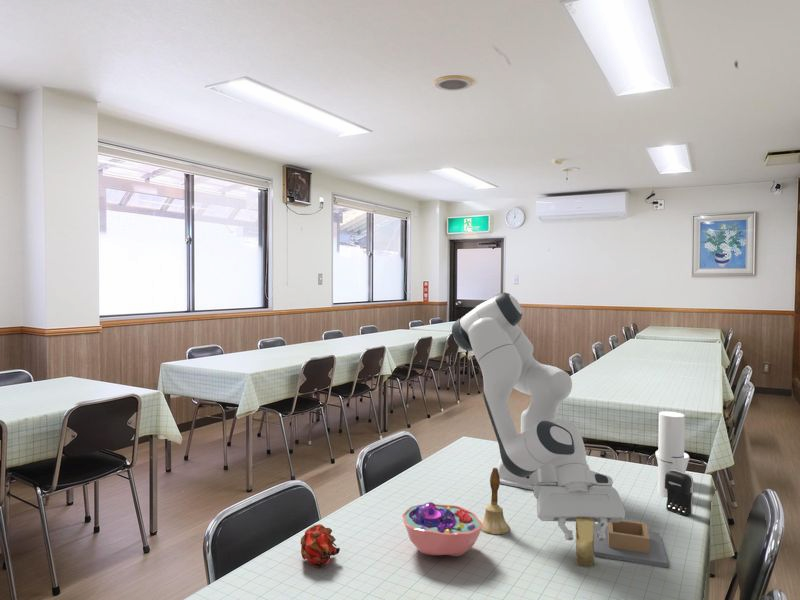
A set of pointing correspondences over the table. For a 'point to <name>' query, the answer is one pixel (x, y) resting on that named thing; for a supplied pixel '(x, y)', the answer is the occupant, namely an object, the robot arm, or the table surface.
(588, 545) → the brass tube
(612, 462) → the table surface
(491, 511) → the hand bell
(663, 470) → the cylindrical container
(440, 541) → the cell model
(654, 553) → the plate
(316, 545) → the dragon fruit
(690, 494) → the battery charger
